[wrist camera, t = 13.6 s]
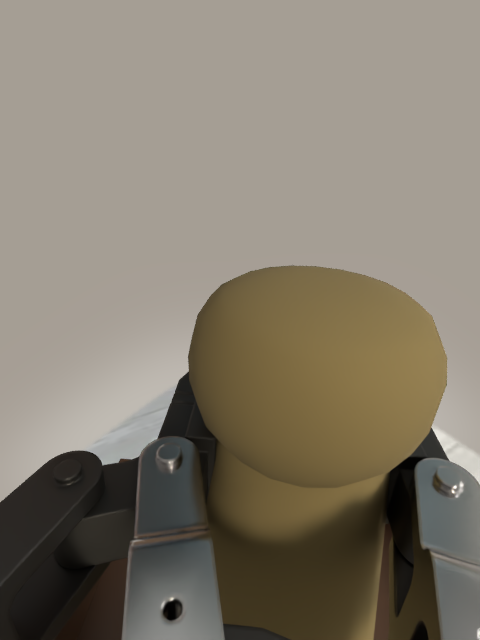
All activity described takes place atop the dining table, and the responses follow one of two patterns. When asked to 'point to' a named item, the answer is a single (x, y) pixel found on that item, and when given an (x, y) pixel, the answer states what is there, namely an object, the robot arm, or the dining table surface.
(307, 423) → the cork
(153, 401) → the dining table surface
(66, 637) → the tray
